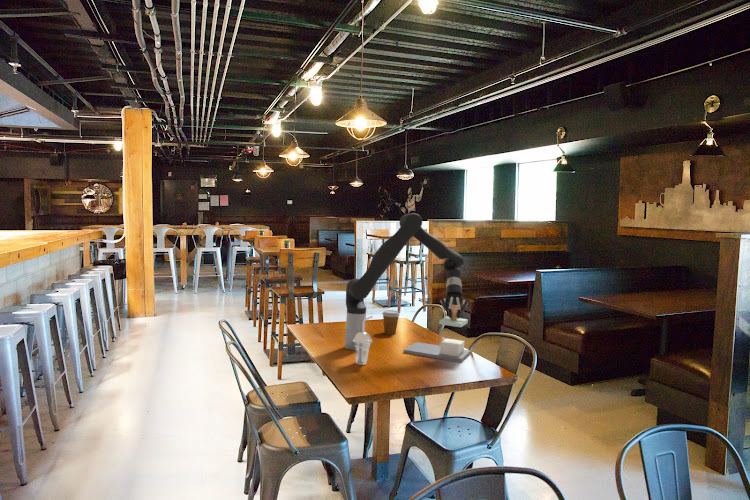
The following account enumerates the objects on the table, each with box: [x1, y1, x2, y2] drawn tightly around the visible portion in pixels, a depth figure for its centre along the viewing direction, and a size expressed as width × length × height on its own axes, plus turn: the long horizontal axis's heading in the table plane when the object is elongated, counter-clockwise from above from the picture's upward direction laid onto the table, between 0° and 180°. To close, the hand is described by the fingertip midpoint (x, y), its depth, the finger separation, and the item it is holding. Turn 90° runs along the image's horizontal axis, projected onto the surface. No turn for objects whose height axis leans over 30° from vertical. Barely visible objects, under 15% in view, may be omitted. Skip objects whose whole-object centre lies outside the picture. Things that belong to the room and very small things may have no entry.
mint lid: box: [438, 305, 469, 328], centre depth 235 cm, size 12×10×9 cm
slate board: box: [402, 341, 472, 363], centre depth 239 cm, size 18×28×2 cm, turn 66°
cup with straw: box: [353, 315, 373, 366], centre depth 215 cm, size 8×9×20 cm
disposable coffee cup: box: [382, 309, 400, 335], centre depth 276 cm, size 10×10×12 cm
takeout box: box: [439, 338, 465, 356], centre depth 236 cm, size 11×9×5 cm
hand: (454, 317), depth 233 cm, fingers closed on mint lid, 3 cm apart
